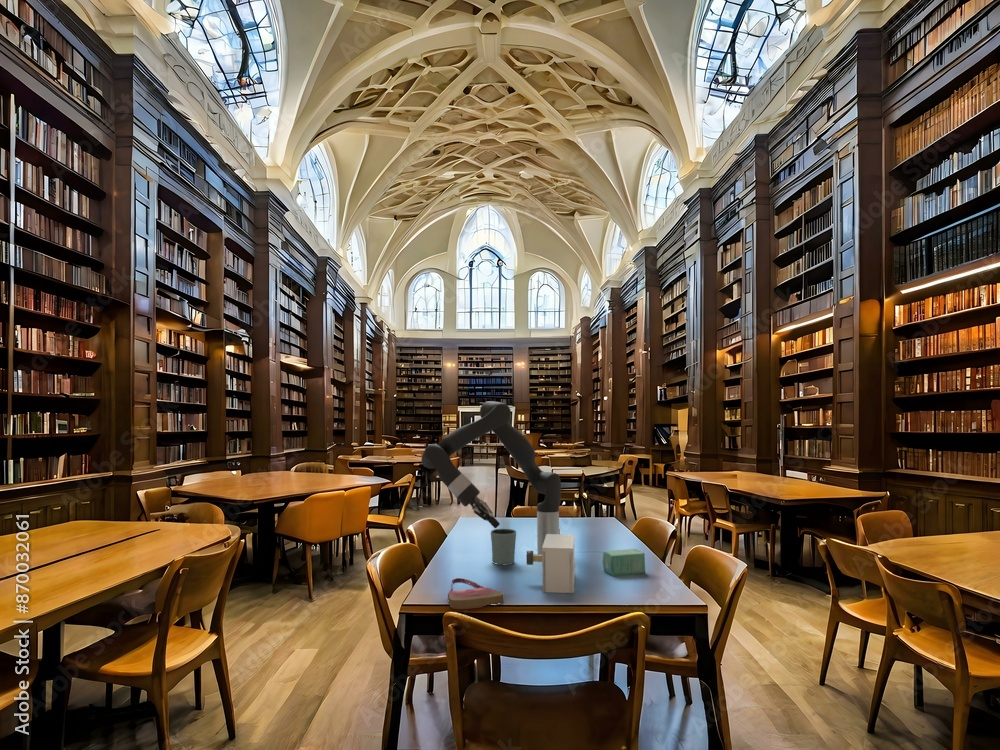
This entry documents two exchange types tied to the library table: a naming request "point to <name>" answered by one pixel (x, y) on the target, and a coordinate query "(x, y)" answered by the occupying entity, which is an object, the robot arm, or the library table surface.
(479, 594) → the shoulder bag
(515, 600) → the library table surface
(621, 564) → the box
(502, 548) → the grey green cup
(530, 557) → the knob
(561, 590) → the console
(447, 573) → the library table surface
